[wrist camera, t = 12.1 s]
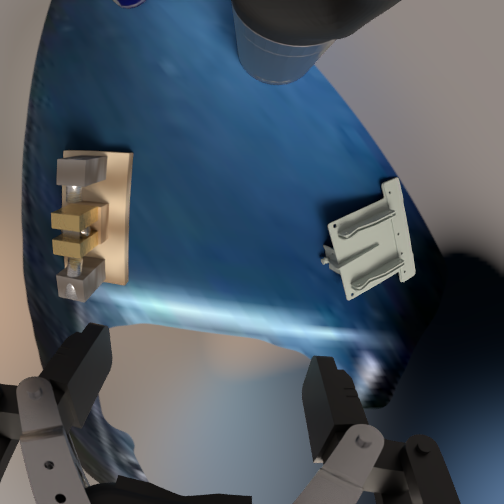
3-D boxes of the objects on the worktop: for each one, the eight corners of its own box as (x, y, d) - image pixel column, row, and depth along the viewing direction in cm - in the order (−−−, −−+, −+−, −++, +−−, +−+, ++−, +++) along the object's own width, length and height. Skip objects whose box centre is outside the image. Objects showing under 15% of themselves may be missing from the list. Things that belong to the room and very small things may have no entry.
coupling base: (69, 149, 37) (33, 155, 29) (133, 152, 37) (105, 157, 29) (70, 270, 43) (41, 295, 35) (128, 280, 43) (106, 310, 35)
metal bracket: (352, 321, 40) (324, 213, 35) (331, 304, 45) (302, 207, 40) (428, 273, 42) (412, 175, 37) (403, 263, 47) (385, 173, 43)
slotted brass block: (98, 244, 37) (80, 258, 33) (72, 240, 37) (53, 254, 32) (98, 206, 36) (79, 216, 31) (71, 203, 35) (51, 212, 31)
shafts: (72, 157, 32) (56, 160, 29) (86, 158, 32) (71, 161, 29) (75, 289, 38) (63, 302, 34) (88, 291, 38) (76, 305, 35)
